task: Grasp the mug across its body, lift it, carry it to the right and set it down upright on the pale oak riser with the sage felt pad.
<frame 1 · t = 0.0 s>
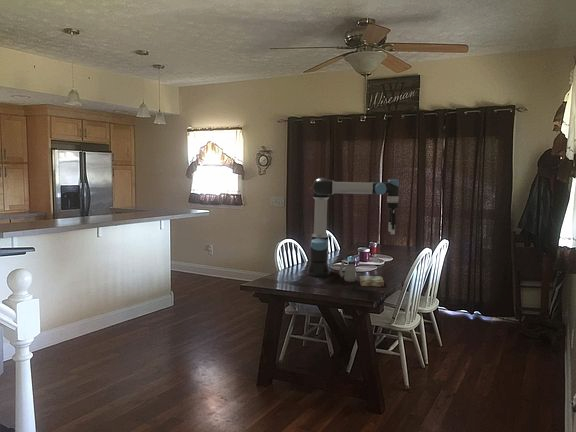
hand: (391, 232, 330), 28 cm above the table, fingers open, 13 cm apart
stand b: (371, 283, 301), on the table
mug: (347, 280, 310), on the table
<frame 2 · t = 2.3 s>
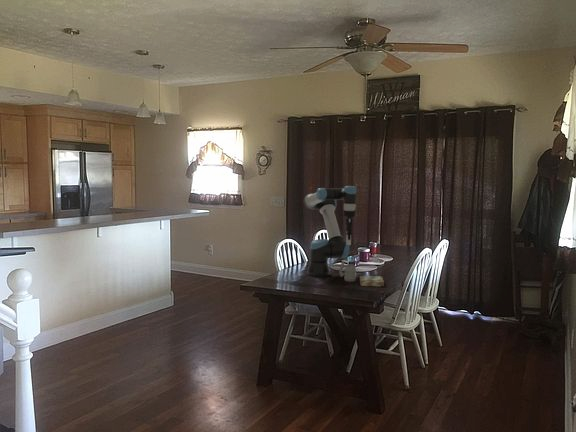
hand: (348, 243, 307), 24 cm above the table, fingers open, 13 cm apart
nothing on the table moved.
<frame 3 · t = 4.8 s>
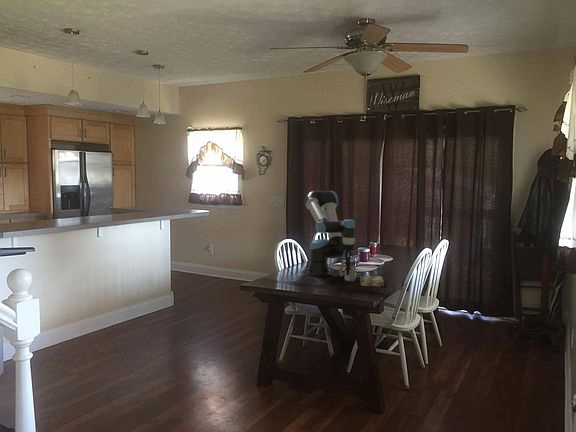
hand: (347, 278, 309), 1 cm above the table, fingers closed on mug, 8 cm apart
mug: (347, 279, 310), on the table, touching gripper
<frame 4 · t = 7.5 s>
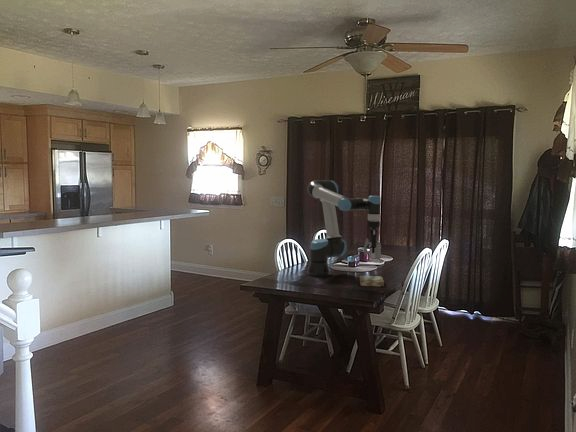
hand: (372, 256, 299), 17 cm above the table, fingers closed on mug, 8 cm apart
mug: (371, 258, 300), point 16 cm above the table, touching gripper
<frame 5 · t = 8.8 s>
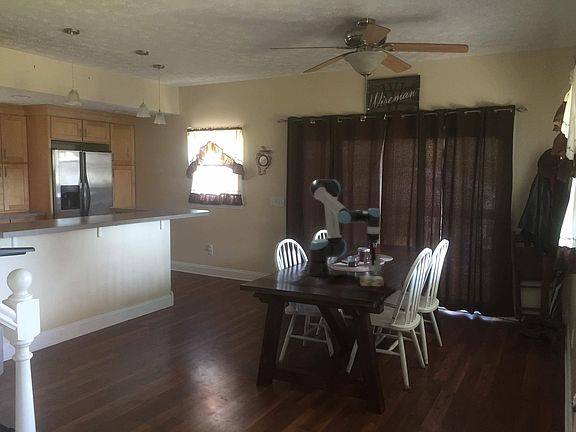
hand: (372, 269, 300), 9 cm above the table, fingers closed on mug, 8 cm apart
mug: (371, 270, 301), point 8 cm above the table, touching gripper
when the fingers open (6 cm above the table, at t = 9.9 s): mug drops 1 cm, resting on stand b.
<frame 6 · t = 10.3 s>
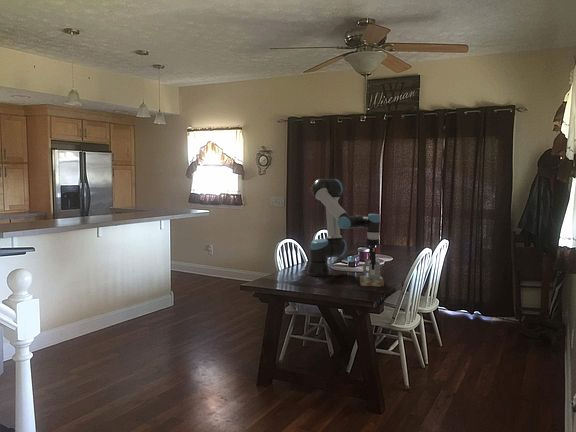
hand: (371, 272, 300), 7 cm above the table, fingers open, 13 cm apart
mug: (371, 277, 302), point 3 cm above the table, touching stand b
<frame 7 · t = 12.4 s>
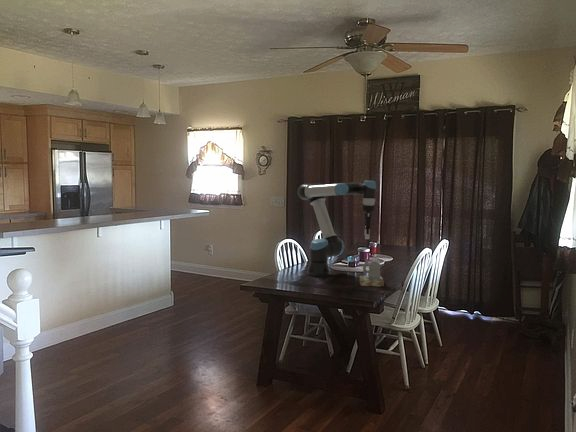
hand: (366, 237, 309), 28 cm above the table, fingers open, 13 cm apart
nothing on the table moved.
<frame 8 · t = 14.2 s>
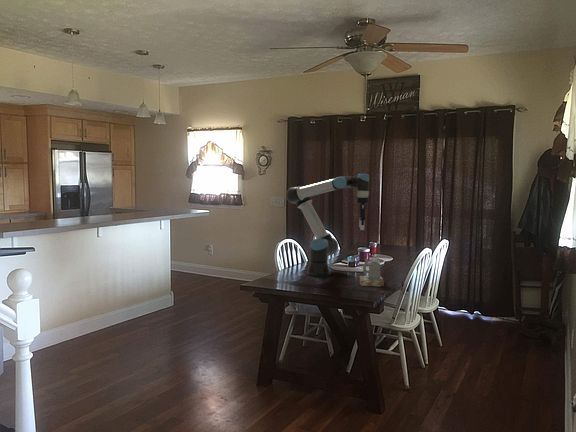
hand: (361, 228, 320), 32 cm above the table, fingers open, 13 cm apart
nothing on the table moved.
at the end: mug 1.3 cm from the stand b (horizontally); mug touching stand b; mug tilted 0° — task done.
